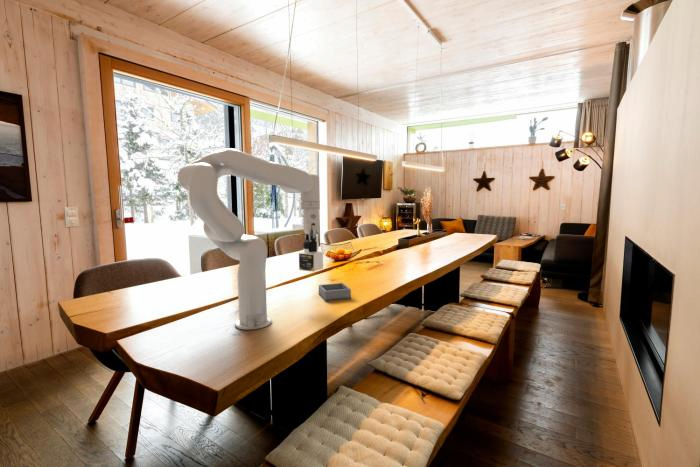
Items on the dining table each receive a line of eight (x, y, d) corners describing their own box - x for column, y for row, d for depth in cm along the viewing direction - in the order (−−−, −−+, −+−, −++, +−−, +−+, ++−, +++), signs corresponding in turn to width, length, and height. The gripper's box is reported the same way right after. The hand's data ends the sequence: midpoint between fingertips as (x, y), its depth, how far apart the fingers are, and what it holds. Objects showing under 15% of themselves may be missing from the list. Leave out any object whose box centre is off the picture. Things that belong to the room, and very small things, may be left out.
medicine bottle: (298, 270, 140) (298, 240, 139) (309, 267, 147) (308, 238, 145) (313, 271, 137) (313, 241, 136) (323, 268, 143) (323, 239, 142)
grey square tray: (350, 298, 153) (350, 288, 153) (325, 301, 150) (325, 291, 149) (342, 292, 164) (342, 282, 164) (318, 294, 161) (318, 284, 160)
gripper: (324, 206, 132) (325, 253, 134) (314, 205, 149) (315, 247, 150) (305, 206, 130) (306, 254, 132) (297, 205, 146) (297, 248, 148)
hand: (310, 250), depth 141 cm, fingers closed on medicine bottle, 6 cm apart
